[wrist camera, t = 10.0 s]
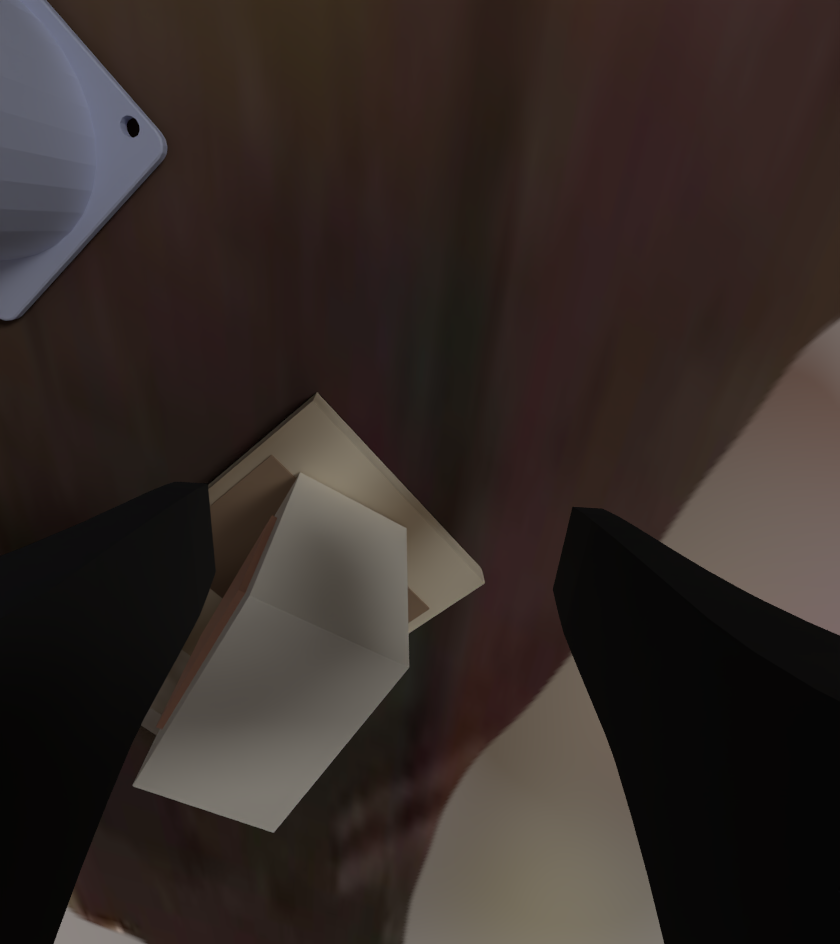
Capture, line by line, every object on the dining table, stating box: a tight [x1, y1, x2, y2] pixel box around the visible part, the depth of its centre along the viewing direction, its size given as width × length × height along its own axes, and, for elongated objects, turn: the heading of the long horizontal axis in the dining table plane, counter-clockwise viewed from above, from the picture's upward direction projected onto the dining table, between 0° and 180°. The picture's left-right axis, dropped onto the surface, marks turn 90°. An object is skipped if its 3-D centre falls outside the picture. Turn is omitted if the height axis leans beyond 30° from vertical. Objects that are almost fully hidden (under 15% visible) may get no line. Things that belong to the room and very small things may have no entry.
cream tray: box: [141, 393, 485, 735], centre depth 20 cm, size 10×13×4 cm
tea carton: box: [133, 472, 409, 833], centre depth 18 cm, size 5×8×7 cm, turn 148°
